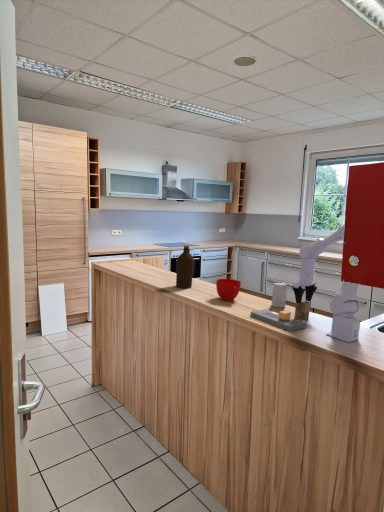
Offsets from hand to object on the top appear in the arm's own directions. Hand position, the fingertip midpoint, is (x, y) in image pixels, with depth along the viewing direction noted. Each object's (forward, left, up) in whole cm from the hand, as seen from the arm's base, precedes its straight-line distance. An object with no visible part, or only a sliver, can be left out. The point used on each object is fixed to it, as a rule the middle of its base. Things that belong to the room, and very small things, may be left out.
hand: (303, 301), depth 150 cm
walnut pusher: (0, 0, -8) cm, 8 cm away
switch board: (+2, +15, -8) cm, 17 cm away
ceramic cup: (+38, +10, -8) cm, 40 cm away
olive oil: (+73, +14, -8) cm, 75 cm away
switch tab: (-2, +15, -5) cm, 16 cm away
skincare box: (+18, -6, -8) cm, 21 cm away
